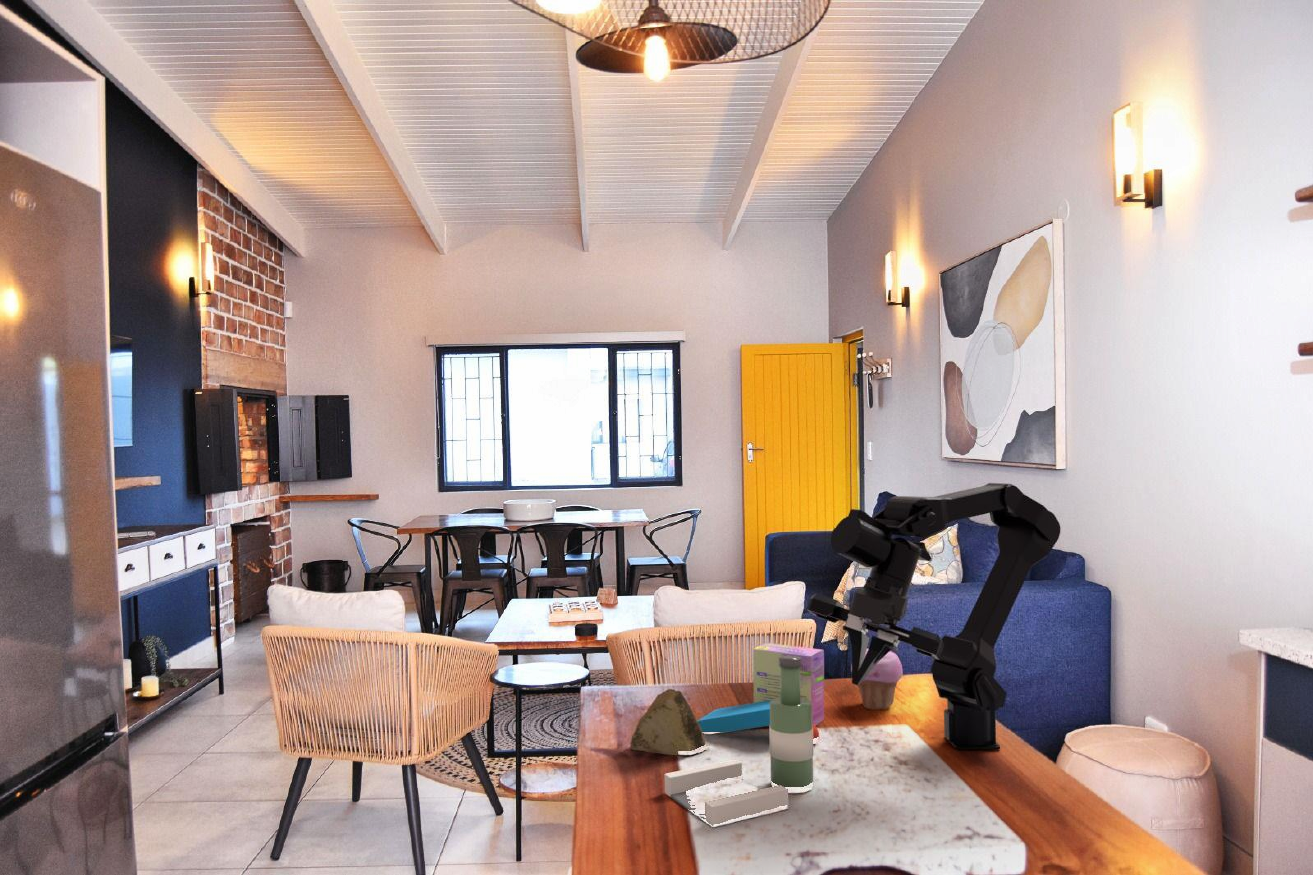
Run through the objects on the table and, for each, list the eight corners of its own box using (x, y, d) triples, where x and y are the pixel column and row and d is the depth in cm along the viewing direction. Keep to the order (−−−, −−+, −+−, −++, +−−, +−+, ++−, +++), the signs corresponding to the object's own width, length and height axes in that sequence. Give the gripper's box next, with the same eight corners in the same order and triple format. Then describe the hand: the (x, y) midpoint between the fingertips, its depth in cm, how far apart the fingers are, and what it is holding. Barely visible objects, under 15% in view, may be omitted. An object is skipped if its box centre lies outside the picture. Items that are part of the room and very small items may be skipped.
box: (825, 720, 145) (824, 648, 145) (812, 730, 141) (810, 655, 141) (768, 710, 151) (766, 641, 151) (753, 720, 146) (752, 648, 146)
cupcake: (849, 698, 157) (848, 642, 157) (899, 699, 156) (898, 643, 156) (853, 713, 148) (852, 654, 149) (906, 715, 147) (905, 655, 147)
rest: (735, 777, 121) (735, 759, 121) (788, 809, 110) (787, 789, 110) (664, 793, 116) (664, 773, 116) (712, 828, 105) (712, 807, 105)
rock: (610, 738, 131) (657, 744, 124) (630, 684, 136) (677, 687, 129) (656, 767, 137) (703, 774, 130) (673, 714, 141) (721, 719, 134)
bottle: (810, 777, 121) (808, 652, 121) (817, 793, 115) (815, 663, 115) (768, 777, 121) (766, 653, 121) (772, 794, 115) (770, 663, 115)
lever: (708, 765, 139) (813, 751, 130) (697, 721, 140) (800, 703, 131) (727, 751, 145) (828, 737, 136) (715, 709, 146) (815, 692, 137)
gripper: (816, 546, 124) (778, 653, 120) (950, 588, 115) (913, 705, 112) (832, 564, 133) (798, 663, 130) (957, 604, 124) (924, 712, 121)
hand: (855, 684), depth 123 cm, fingers closed
